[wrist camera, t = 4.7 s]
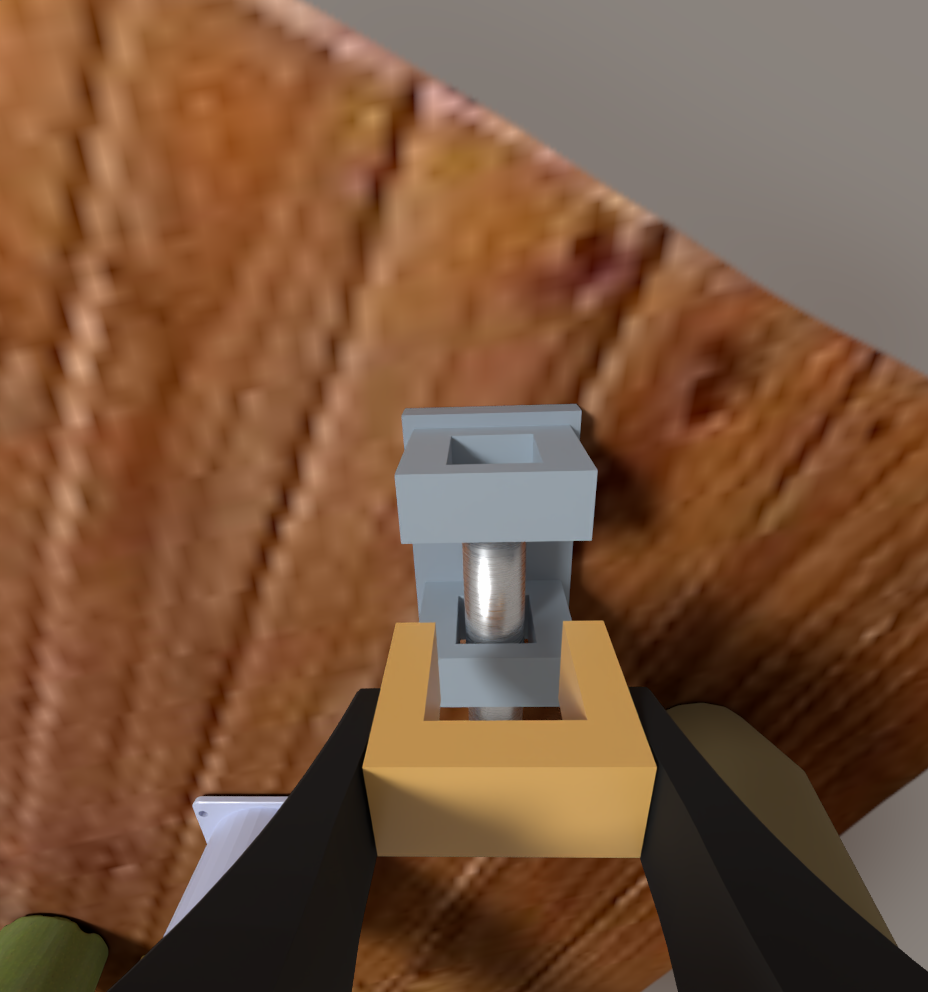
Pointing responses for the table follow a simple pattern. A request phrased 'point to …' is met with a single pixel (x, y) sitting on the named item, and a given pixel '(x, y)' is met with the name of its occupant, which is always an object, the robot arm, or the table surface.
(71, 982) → the plant pot
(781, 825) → the squeeze bottle
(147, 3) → the table surface
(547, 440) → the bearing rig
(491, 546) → the shaft
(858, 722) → the table surface
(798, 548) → the table surface
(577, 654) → the block
